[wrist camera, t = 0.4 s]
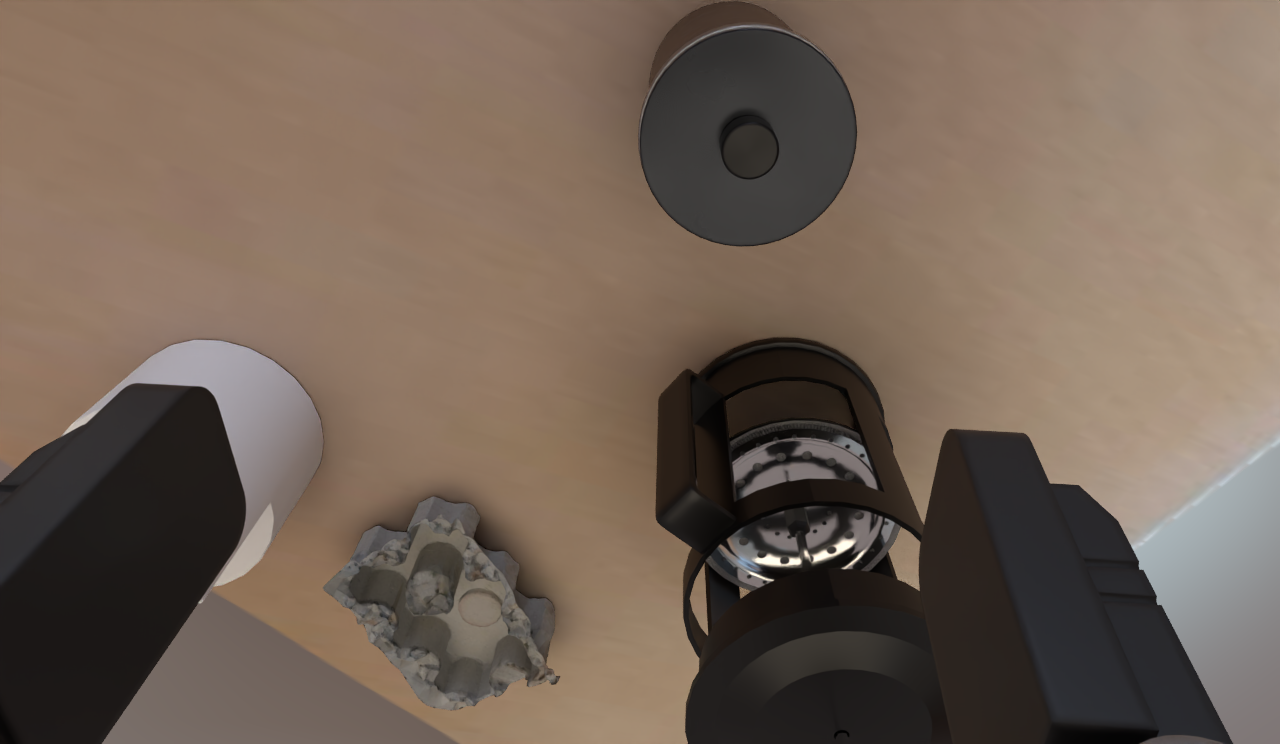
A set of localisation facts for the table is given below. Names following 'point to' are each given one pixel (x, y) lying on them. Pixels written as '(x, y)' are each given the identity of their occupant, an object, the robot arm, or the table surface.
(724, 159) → the pot
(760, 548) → the french press
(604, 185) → the table surface
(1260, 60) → the table surface
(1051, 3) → the table surface
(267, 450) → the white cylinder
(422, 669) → the egg carton
